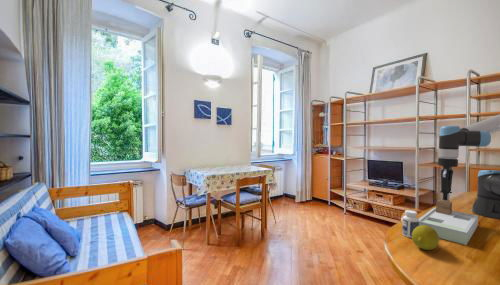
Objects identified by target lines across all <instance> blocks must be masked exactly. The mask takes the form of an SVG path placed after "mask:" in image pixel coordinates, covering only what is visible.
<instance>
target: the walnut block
mask: <svg viewBox="0 0 500 285" xmlns="http://www.w3.org/2000/svg"><path fill="white" fill-rule="evenodd" d="M435 205H436V206H435V208H436V212H438V213H443V214H447V215H450V214H451V213H452V211H453V201H449V202H448V201H442V199H438V200H437V201H436V203H435Z"/></svg>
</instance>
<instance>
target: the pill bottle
mask: <svg viewBox="0 0 500 285" xmlns="http://www.w3.org/2000/svg"><path fill="white" fill-rule="evenodd" d="M417 215H418V212H417V211H415V210H410V209H407V210H406V209H405V211H404V216H402V226H401V227H402V232H401V233H402V235H403V236H404V237H407V238H410V239H412V232H413V230H414V229H415V228H416V227H418V226H419V218H418V216H417Z"/></svg>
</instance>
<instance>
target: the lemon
mask: <svg viewBox="0 0 500 285" xmlns="http://www.w3.org/2000/svg"><path fill="white" fill-rule="evenodd" d="M411 239H412V242H413V243H414V244H415V246H417V247H418V248H420V249H422V250H425V251H431V250H435V249H436V248H437V247H438V246H439V242H440V238H439V236H438V234H437V232H436V231H435V230H434V229H433V228H431V227H430V226H426V225H421V226H418V227H416V228H415V229H414V230H413V232H412V238H411Z"/></svg>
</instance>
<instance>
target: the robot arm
mask: <svg viewBox="0 0 500 285" xmlns="http://www.w3.org/2000/svg"><path fill="white" fill-rule="evenodd" d="M496 132H500V113H499V114H496V115H494V116H491V117H489V118H486V119H484V120H480V121H478V122H475V123H472V124H469V125H467V126H464V127H462V128H461V127H460V126H459V125H443V126H440V128H439V133H438V134H439V135H438V139H439V140H438V150H437V151H436V152H437V153H438V158H437V166H440V167H442V169H441V170H440V172H441V173H440V180H441V181H440V184H441V185H440V192H439V193H440V194H441V200H442V201H448V202H450V201H451V200H450V199H451V194H452V193H453V191H452V182H453V176H454V169H453V168H458V166H459V159H458V158H459V156H460V155H459V152H460V151H459V149H460V147H477V148H479V147H480V148H481V147H482V148H484V147H488V146H489V145H490V144H491V142H492V135H491V134H493V133H496ZM476 191H477V193H476V198H475V201H474V203H473V204H472V207H471V212H472V213H474V214H475V215H478V216H483V217H487V218H493V219H497V220H498V219H500V170H498V169H497V170H495V169H494V170H493V169H491V170H490V169H481V170H478V174H477V188H476Z"/></svg>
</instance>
